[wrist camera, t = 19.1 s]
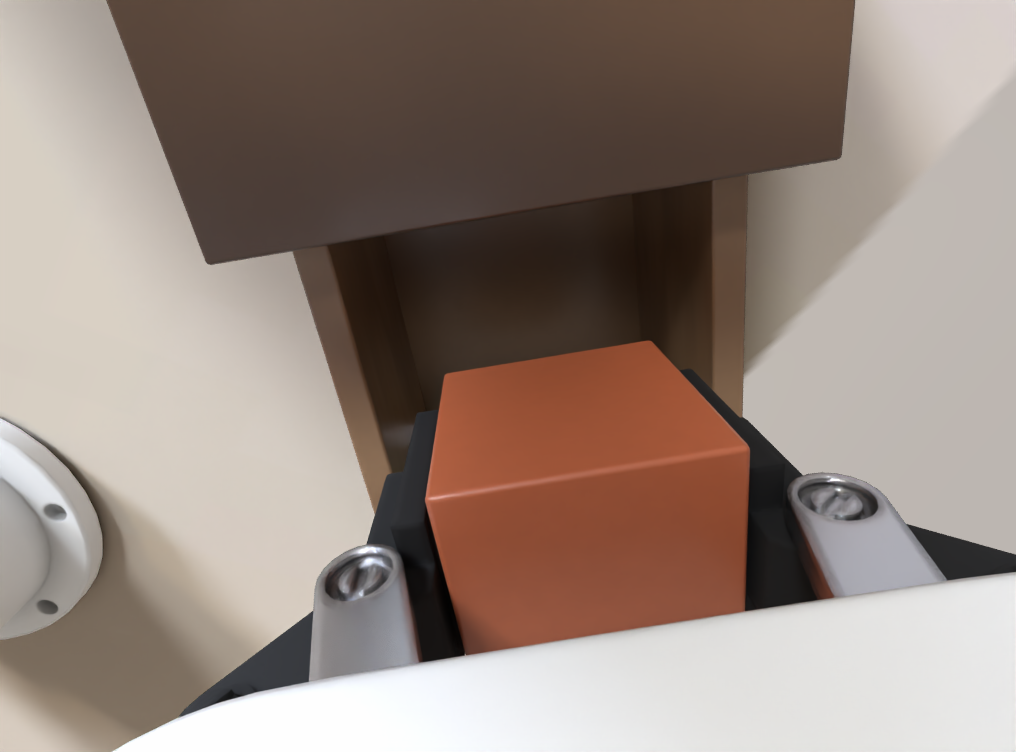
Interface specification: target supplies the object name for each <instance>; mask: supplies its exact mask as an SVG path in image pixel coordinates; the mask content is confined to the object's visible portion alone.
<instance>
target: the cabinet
mask: <svg viewBox="0 0 1016 752" xmlns="http://www.w3.org/2000/svg"><path fill="white" fill-rule="evenodd" d="M106 1H107V4H108V6H109V9H110V11H111V14H112V17H113V19H114V22H115V25H116V27H117V30H118V32H119V35H120V38H121V40H122V43H123V46H124V48H125V51H126V53H127V56H128V59H129V61H130V64H131V67H132V69H133V72H134V74H135V77H136V80H137V82H138V85H139V88H140V90H141V93H142V95H143V98H144V101H145V103H146V106H147V109H148V111H149V114H150V116H151V119H152V122H153V124H154V127H155V130H156V132H157V135H158V137H159V140H160V143H161V145H162V148H163V151H164V153H165V156H166V158H167V161H168V164H169V166H170V169H171V172H172V174H173V177H174V180H175V182H176V185H177V187H178V190H179V193H180V195H181V198H182V201H183V203H184V206H185V208H186V211H187V214H188V216H189V219H190V222H191V224H192V227H193V229H194V232H195V235H196V237H197V240H198V243H199V245H200V248H201V250H202V253H203V256H204V258H205V261H206V263H207V264H209V265H214V264H220V263H225V262H231V261H237V260H243V259H249V258H255V257H261V256H267V255H273V254H279V253H285V252H291V251H297V250H303V249H309V248H315V247H321V246H327V245H333V244H339V243H345V242H350V241H356V240H362V239H368V238H374V237H380V236H386V235H392V234H398V233H404V232H410V231H416V230H422V229H428V228H434V227H440V226H446V225H452V224H458V223H464V222H470V221H475V220H481V219H487V218H493V217H499V216H505V215H511V214H517V213H523V212H529V211H535V210H541V209H547V208H553V207H559V206H565V205H571V204H577V203H583V202H589V201H595V200H600V199H606V198H612V197H618V196H624V195H630V194H636V193H642V192H648V191H654V190H660V189H666V188H672V187H678V186H684V185H690V184H696V183H702V182H708V181H714V180H720V179H725V178H731V177H737V176H743V175H749V174H755V173H761V172H767V171H773V170H779V169H785V168H791V167H797V166H803V165H809V164H815V163H821V162H827V161H833V160H837V159H839V158H841V155H842V145H843V133H844V122H845V110H846V99H847V88H848V76H849V65H850V54H851V42H852V31H853V19H854V8H855V0H106Z"/></svg>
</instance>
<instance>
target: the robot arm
mask: <svg viewBox="0 0 1016 752" xmlns="http://www.w3.org/2000/svg"><path fill="white" fill-rule="evenodd" d="M679 371H680V372H681V373H682V374H683V375H684V377H685V378H686V379H687V380H688V381H689V382H690V383H691V384H692V385H693V386H694V387H695V388H696V389H697V391H698V392H699V393H700V394H701V395H702V396H703V397H704V398H705V399H706V400H707V401H708V402H709V403H710V405H711V406H712V407H713V408H714V409H715V410H716V411H717V412H718V413H719V414H720V415H721V416H722V417H723V419H724V420H725V421H726V422H727V423H728V424H729V425H730V426H731V427H732V428H733V429H734V430H735V431H736V433H737V434H738V435H739V436H740V437H741V438H742V439H743V440H744V441H745V442H746V443H747V444H748V446H749V448H750V468H749V500H748V532H747V565H746V597H745V611H744V612H738V613H731V614H725V615H718V616H712V617H706V618H699V619H693V620H686V621H680V622H674V623H667V624H661V625H654V626H648V627H641V628H635V629H629V630H622V631H616V632H610V633H603V634H597V635H591V636H584V637H578V638H572V639H565V640H559V641H553V642H546V643H540V644H534V645H528V646H521V647H515V648H509V649H503V650H497V651H490V652H484V653H478V654H472V655H466V656H465V651H464V647H463V643H462V639H461V636H460V632H459V628H458V624H457V620H456V617H455V613H454V609H453V605H452V601H451V598H450V594H449V590H448V586H447V583H446V579H445V575H444V571H443V567H442V564H441V560H440V556H439V552H438V548H437V545H436V541H435V537H434V533H433V530H432V526H431V522H430V518H429V514H428V511H427V507H426V503H425V497H426V491H427V484H428V478H429V471H430V465H431V458H432V452H433V445H434V439H435V433H436V426H437V420H438V413H439V409H438V410H432V411H426V412H420V413H417V415H416V420H415V424H414V428H413V432H412V436H411V441H410V445H409V449H408V453H407V457H406V462H405V466H404V470H403V472H397V473H391V474H388V475H387V476H386V479H385V482H384V485H383V489H382V492H381V496H380V499H379V503H378V506H377V510H376V513H375V517H374V520H373V524H372V527H371V531H370V534H369V538H368V541H367V545H363V546H358V547H356V548H353V549H351V550H349V551H346V552H344V553H343V554H341V555H340V556H338V557H336V558H335V559H333V560H332V561H331V562H330V563H329V564H328V565H327V566H326V567H325V568H324V569H323V571H322V572H321V574H320V575H319V577H318V579H317V582H316V586H315V593H314V609H313V611H312V612H311V613H310V614H308V615H307V616H306V617H304V618H303V619H302V620H300V621H299V622H298V623H296V624H295V625H294V626H292V627H291V628H290V629H288V630H287V631H286V632H284V633H283V634H282V635H280V636H279V637H278V638H276V639H275V640H274V641H272V642H271V643H270V644H268V645H267V646H266V647H264V648H263V649H262V650H260V651H259V652H258V653H256V654H255V655H254V656H252V657H251V658H250V659H248V660H247V661H246V662H244V663H243V664H242V665H240V666H239V667H238V668H236V669H235V670H234V671H232V672H231V673H230V674H228V675H227V676H226V677H224V678H223V679H222V680H220V681H219V682H218V683H216V684H215V685H214V686H212V687H211V688H210V689H208V690H207V691H206V692H204V693H203V694H202V695H200V696H199V697H198V698H197V699H196V700H195V701H194V702H192V703H191V704H190V705H189V706H188V707H187V708H186V709H185V710H184V711H183V712H182V713H181V715H180V716H179V717H178V718H177V719H174V720H172V721H170V722H168V723H166V724H164V725H162V726H160V727H158V728H156V729H154V730H152V731H150V732H148V733H146V734H144V735H141V736H139V737H137V738H135V739H133V740H131V741H130V742H128V743H126V744H124V745H123V746H121V747H119V748H118V749H116V750H114V751H112V752H1016V555H1015V554H1011V553H1008V552H1004V551H1001V550H997V549H993V548H990V547H986V546H983V545H979V544H976V543H972V542H969V541H965V540H961V539H958V538H954V537H951V536H947V535H944V534H940V533H937V532H933V531H929V530H926V529H922V528H919V527H915V526H912V525H908V524H906V523H905V522H904V521H903V519H902V518H901V517H900V515H899V514H898V512H897V511H896V510H895V508H894V507H893V506H892V504H891V503H890V502H889V500H888V499H887V498H886V497H885V496H884V495H883V494H882V493H881V492H880V491H879V490H878V489H877V488H875V487H873V486H872V485H870V484H868V483H867V482H864V481H862V480H859V479H856V478H854V477H850V476H846V475H841V474H836V473H812V474H806V475H802V474H801V473H800V472H799V471H798V470H797V469H796V468H795V467H794V466H793V465H792V464H791V463H790V462H789V461H788V460H787V459H786V458H785V457H784V456H783V455H782V454H781V453H780V452H779V451H778V450H777V449H776V448H775V447H774V446H773V445H772V444H771V443H770V442H769V441H768V440H767V439H766V438H765V437H764V436H763V435H762V434H761V433H760V432H759V431H758V430H757V429H756V428H755V427H754V426H753V425H751V423H749V421H748V420H746V419H745V418H743V417H739V416H738V415H737V414H736V413H735V412H734V411H733V410H732V409H731V408H730V407H729V406H728V405H727V404H726V403H725V402H724V401H723V400H722V399H721V398H720V397H719V396H718V395H717V394H716V393H715V392H714V391H713V390H712V389H711V388H710V387H709V386H708V385H707V384H706V383H705V382H704V381H703V380H702V379H701V378H700V377H699V376H698V375H697V374H696V373H695V372H694V371H693V370H692V369H684V370H679ZM102 557H103V537H102V532H101V528H100V524H99V521H98V517H97V513H96V511H95V509H94V507H93V505H92V503H91V502H90V500H89V498H88V496H87V494H86V492H85V490H84V489H83V488H82V486H81V485H80V484H79V482H78V481H77V480H76V478H75V477H74V476H73V474H72V473H71V472H70V470H69V469H68V468H67V467H66V466H65V465H64V464H63V463H62V462H61V461H60V460H59V459H58V458H57V457H56V456H54V455H53V454H52V453H51V452H50V451H49V450H48V449H47V448H46V447H45V446H43V445H42V444H41V443H39V442H38V441H36V440H35V439H34V438H32V437H31V436H29V435H28V434H27V433H25V432H24V431H22V430H21V429H20V428H18V427H16V426H14V425H12V424H10V423H8V422H7V421H5V420H3V419H1V418H0V640H4V639H10V638H14V637H19V636H23V635H27V634H31V633H33V632H36V631H38V630H40V629H42V628H45V627H47V626H49V625H51V624H53V623H54V622H56V621H57V620H58V619H60V618H61V617H63V616H64V615H65V614H67V613H68V612H69V611H70V610H71V609H72V608H73V607H74V606H75V605H76V603H77V602H78V601H79V600H80V599H81V598H82V597H83V596H84V595H85V594H86V592H87V591H88V590H89V588H90V586H91V585H92V583H93V582H94V580H95V578H96V577H97V575H98V572H99V568H100V564H101V561H102Z"/></svg>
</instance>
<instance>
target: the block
mask: <svg viewBox="0 0 1016 752" xmlns="http://www.w3.org/2000/svg"><path fill="white" fill-rule="evenodd" d="M749 468H750V448H749V446H748V444H747V443H746V442H745V441H744V440H743V439H742V438H741V437H740V436H739V435H738V434H737V433H736V431H735V430H734V429H733V428H732V427H731V426H730V425H729V424H728V423H727V422H726V421H725V420H724V419H723V417H722V416H721V415H720V414H719V413H718V412H717V411H716V410H715V409H714V408H713V407H712V406H711V405H710V403H709V402H708V401H707V400H706V399H705V398H704V397H703V396H702V395H701V394H700V393H699V392H698V391H697V389H696V388H695V387H694V386H693V385H692V384H691V383H690V382H689V381H688V380H687V379H686V378H685V377H684V375H683V374H682V373H681V372H680V371H679V370H678V369H677V368H676V367H675V366H674V365H673V364H672V363H671V361H670V360H669V359H668V358H667V357H666V356H665V355H664V354H663V353H662V352H661V351H660V350H659V349H658V347H657V346H656V345H655V344H654V343H653V342H652V341H649V340H648V341H642V342H636V343H630V344H624V345H618V346H612V347H605V348H599V349H593V350H587V351H581V352H575V353H569V354H563V355H557V356H551V357H544V358H538V359H532V360H526V361H520V362H514V363H508V364H502V365H496V366H490V367H483V368H477V369H471V370H465V371H459V372H453V373H447V374H446V375H444V381H443V387H442V394H441V400H440V407H439V413H438V420H437V426H436V433H435V439H434V445H433V452H432V458H431V465H430V471H429V478H428V484H427V491H426V497H425V503H426V507H427V511H428V514H429V518H430V522H431V526H432V530H433V533H434V537H435V541H436V545H437V548H438V552H439V556H440V560H441V564H442V567H443V571H444V575H445V579H446V583H447V586H448V590H449V594H450V598H451V601H452V605H453V609H454V613H455V617H456V620H457V624H458V628H459V632H460V636H461V639H462V643H463V647H464V651H465V654H466V655H472V654H478V653H484V652H490V651H497V650H503V649H509V648H515V647H521V646H528V645H534V644H540V643H546V642H553V641H559V640H565V639H572V638H578V637H584V636H591V635H597V634H603V633H610V632H616V631H622V630H629V629H635V628H641V627H648V626H654V625H661V624H667V623H674V622H680V621H686V620H693V619H699V618H706V617H712V616H718V615H725V614H731V613H738V612H744V611H745V597H746V565H747V532H748V500H749Z"/></svg>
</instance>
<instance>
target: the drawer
mask: <svg viewBox="0 0 1016 752" xmlns="http://www.w3.org/2000/svg"><path fill="white" fill-rule="evenodd" d="M747 197H748V175H743V176H737V177H731V178H725V179H720V180H714V181H708V182H702V183H696V184H690V185H684V186H678V187H672V188H666V189H660V190H654V191H648V192H642V193H636V194H630V195H624V196H618V197H612V198H606V199H600V200H595V201H589V202H583V203H577V204H571V205H565V206H559V207H553V208H547V209H541V210H535V211H529V212H523V213H517V214H511V215H505V216H499V217H493V218H487V219H481V220H475V221H470V222H464V223H458V224H452V225H446V226H440V227H434V228H428V229H422V230H416V231H410V232H404V233H398V234H392V235H386V236H380V237H374V238H368V239H362V240H356V241H350V242H345V243H339V244H333V245H327V246H321V247H315V248H309V249H303V250H297V251H292V252H293V255H294V258H295V261H296V264H297V268H298V271H299V274H300V277H301V280H302V284H303V287H304V290H305V293H306V296H307V300H308V303H309V306H310V309H311V312H312V315H313V319H314V322H315V325H316V328H317V331H318V335H319V338H320V341H321V344H322V347H323V351H324V354H325V357H326V360H327V363H328V366H329V370H330V373H331V376H332V379H333V382H334V386H335V389H336V392H337V395H338V398H339V402H340V405H341V408H342V411H343V414H344V418H345V421H346V424H347V427H348V430H349V433H350V437H351V440H352V443H353V446H354V449H355V453H356V456H357V459H358V462H359V465H360V469H361V472H362V475H363V478H364V481H365V484H366V488H367V491H368V494H369V497H370V500H371V504H372V507H373V510H374V513H376V510H377V506H378V503H379V499H380V496H381V492H382V489H383V485H384V482H385V479H386V476H387V475H388V474H391V473H397V472H403V470H404V466H405V462H406V457H407V453H408V449H409V445H410V441H411V436H412V432H413V428H414V424H415V420H416V415H417V413H420V412H426V411H432V410H438V409H439V407H440V400H441V394H442V387H443V381H444V375H446V374H447V373H453V372H459V371H465V370H471V369H477V368H483V367H490V366H496V365H502V364H508V363H514V362H520V361H526V360H532V359H538V358H544V357H551V356H557V355H563V354H569V353H575V352H581V351H587V350H593V349H599V348H605V347H612V346H618V345H624V344H630V343H636V342H642V341H648V340H649V341H652V342H653V343H654V344H655V345H656V346H657V347H658V349H659V350H660V351H661V352H662V353H663V354H664V355H665V356H666V357H667V358H668V359H669V360H670V361H671V363H672V364H673V365H674V366H675V367H676V368H677V369H678V370H684V369H692V370H693V371H694V372H695V373H696V374H697V375H698V376H699V377H700V378H701V379H702V380H703V381H704V382H705V383H706V384H707V385H708V386H709V387H710V388H711V389H712V390H713V391H714V392H715V393H716V394H717V395H718V396H719V397H720V398H721V399H722V400H723V401H724V402H725V403H726V404H727V405H728V406H729V407H730V408H731V409H732V410H733V411H734V412H735V413H736V414H737V415H738V416H739V417H742V411H743V368H744V325H745V282H746V240H747Z"/></svg>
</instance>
